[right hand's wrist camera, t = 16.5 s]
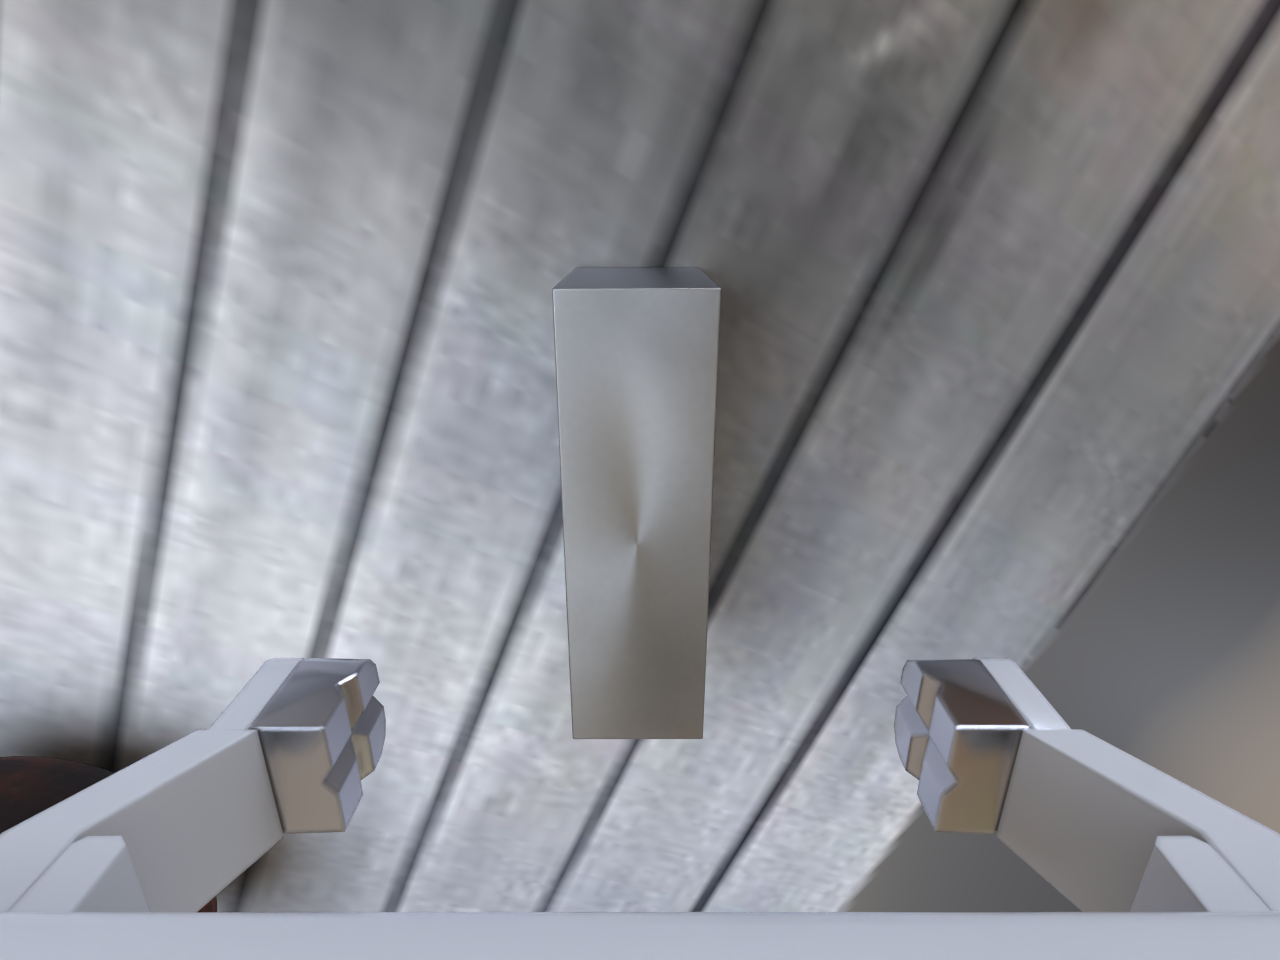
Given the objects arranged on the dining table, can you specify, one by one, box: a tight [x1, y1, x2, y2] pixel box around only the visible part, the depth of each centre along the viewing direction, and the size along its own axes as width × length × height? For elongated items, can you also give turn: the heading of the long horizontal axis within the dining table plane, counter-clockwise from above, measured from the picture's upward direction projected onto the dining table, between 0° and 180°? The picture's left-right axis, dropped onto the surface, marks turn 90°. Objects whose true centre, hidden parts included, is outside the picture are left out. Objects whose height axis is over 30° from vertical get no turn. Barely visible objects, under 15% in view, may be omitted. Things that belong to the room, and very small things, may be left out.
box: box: [552, 267, 721, 739], centre depth 34 cm, size 21×6×10 cm, turn 0°
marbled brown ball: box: [0, 756, 217, 912], centre depth 41 cm, size 22×18×20 cm
